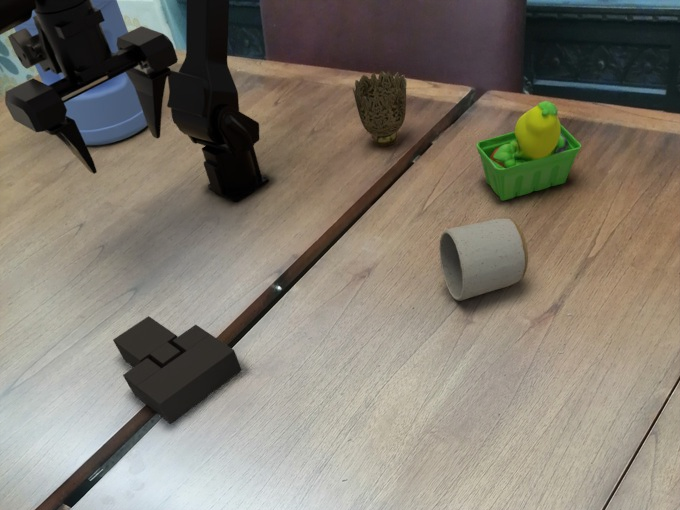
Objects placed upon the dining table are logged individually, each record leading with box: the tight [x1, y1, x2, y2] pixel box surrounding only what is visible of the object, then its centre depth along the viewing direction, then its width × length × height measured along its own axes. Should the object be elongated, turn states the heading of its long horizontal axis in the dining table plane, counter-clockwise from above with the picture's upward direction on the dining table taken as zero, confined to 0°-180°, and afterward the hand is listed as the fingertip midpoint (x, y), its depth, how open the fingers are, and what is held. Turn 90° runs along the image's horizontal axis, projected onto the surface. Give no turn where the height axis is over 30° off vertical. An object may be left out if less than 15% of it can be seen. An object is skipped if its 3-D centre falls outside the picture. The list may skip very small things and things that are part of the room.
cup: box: [352, 70, 408, 147], centre depth 98 cm, size 8×7×8 cm
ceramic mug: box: [438, 218, 529, 302], centre depth 78 cm, size 11×8×8 cm
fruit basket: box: [476, 100, 582, 202], centre depth 86 cm, size 11×9×11 cm
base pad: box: [122, 324, 242, 424], centre depth 75 cm, size 10×7×3 cm
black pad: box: [112, 315, 181, 369], centre depth 78 cm, size 5×8×3 cm, turn 46°
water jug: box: [13, 0, 148, 146], centre depth 103 cm, size 16×16×28 cm
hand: (125, 154), depth 83 cm, fingers open, 9 cm apart
